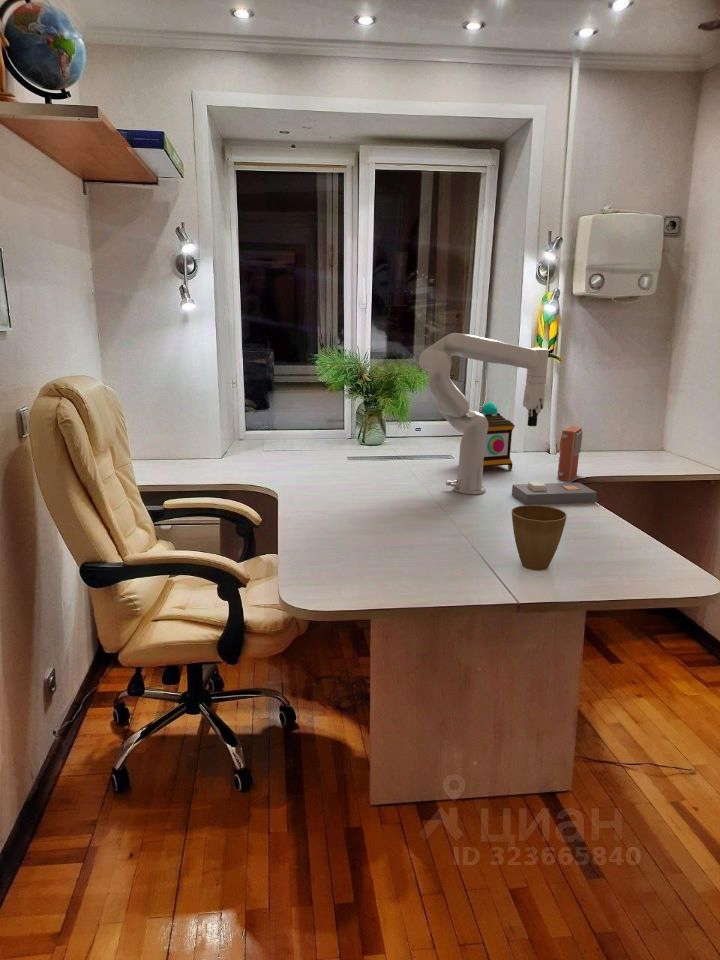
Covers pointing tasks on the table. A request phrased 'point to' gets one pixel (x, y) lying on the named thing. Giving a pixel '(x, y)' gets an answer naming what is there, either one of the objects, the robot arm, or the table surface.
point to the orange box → (569, 452)
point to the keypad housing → (554, 494)
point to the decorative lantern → (497, 438)
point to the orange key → (570, 487)
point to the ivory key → (537, 486)
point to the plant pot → (537, 534)
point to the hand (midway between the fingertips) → (532, 425)
